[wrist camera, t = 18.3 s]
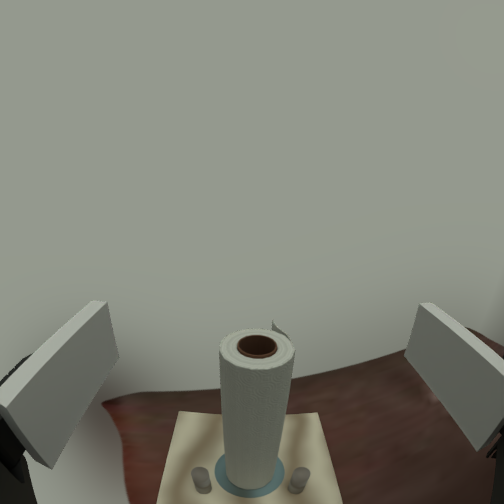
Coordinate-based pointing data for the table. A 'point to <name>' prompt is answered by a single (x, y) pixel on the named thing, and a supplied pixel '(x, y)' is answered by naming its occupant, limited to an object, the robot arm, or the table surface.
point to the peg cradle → (214, 468)
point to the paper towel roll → (254, 402)
